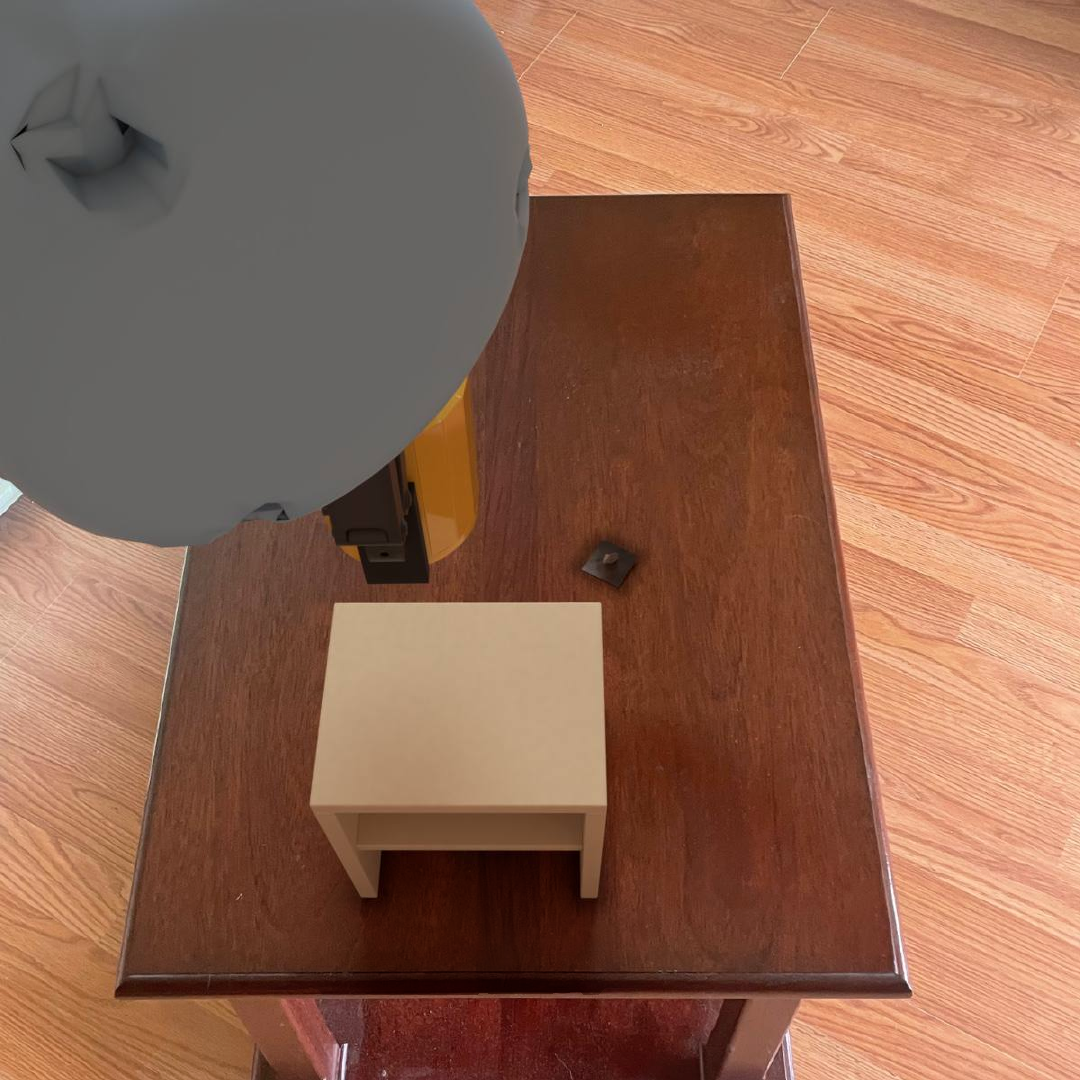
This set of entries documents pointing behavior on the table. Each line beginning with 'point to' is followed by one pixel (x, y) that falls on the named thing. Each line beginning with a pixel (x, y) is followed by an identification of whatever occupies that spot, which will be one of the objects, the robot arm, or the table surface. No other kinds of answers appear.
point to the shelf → (462, 732)
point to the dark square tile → (610, 563)
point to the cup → (443, 477)
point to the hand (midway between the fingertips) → (403, 502)
